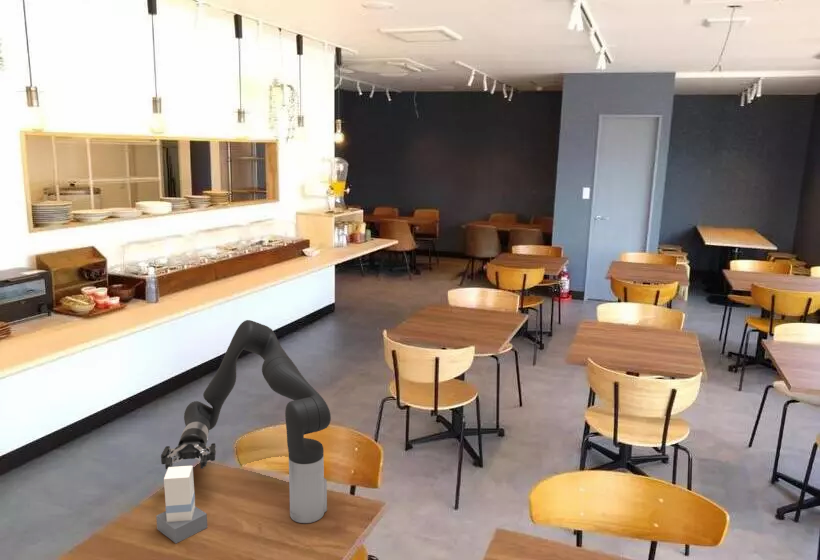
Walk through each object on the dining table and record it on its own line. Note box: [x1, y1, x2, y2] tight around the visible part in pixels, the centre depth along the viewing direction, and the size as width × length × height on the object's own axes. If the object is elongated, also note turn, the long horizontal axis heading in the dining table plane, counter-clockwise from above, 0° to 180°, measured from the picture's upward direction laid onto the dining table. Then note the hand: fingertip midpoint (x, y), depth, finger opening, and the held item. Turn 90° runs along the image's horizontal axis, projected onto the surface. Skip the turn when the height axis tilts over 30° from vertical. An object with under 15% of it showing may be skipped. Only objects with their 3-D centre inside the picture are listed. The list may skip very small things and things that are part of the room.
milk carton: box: [163, 465, 196, 522], centre depth 163 cm, size 6×6×12 cm
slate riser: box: [155, 505, 208, 544], centre depth 165 cm, size 9×9×4 cm
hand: (185, 466), depth 171 cm, fingers open, 8 cm apart
